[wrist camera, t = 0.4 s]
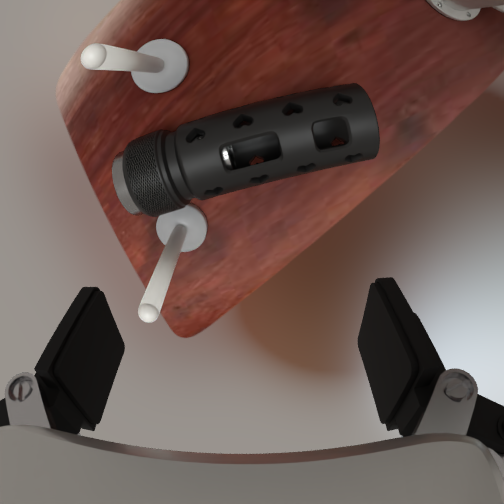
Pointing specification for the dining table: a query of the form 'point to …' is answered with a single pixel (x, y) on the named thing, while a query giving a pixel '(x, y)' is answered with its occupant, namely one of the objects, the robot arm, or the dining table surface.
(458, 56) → the dining table surface
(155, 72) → the post
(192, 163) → the muzzle brake
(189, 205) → the cord post
